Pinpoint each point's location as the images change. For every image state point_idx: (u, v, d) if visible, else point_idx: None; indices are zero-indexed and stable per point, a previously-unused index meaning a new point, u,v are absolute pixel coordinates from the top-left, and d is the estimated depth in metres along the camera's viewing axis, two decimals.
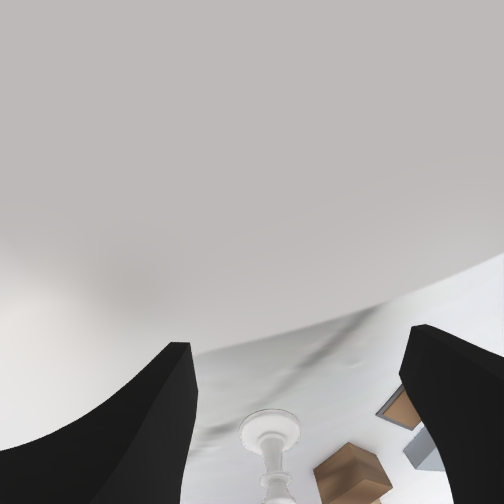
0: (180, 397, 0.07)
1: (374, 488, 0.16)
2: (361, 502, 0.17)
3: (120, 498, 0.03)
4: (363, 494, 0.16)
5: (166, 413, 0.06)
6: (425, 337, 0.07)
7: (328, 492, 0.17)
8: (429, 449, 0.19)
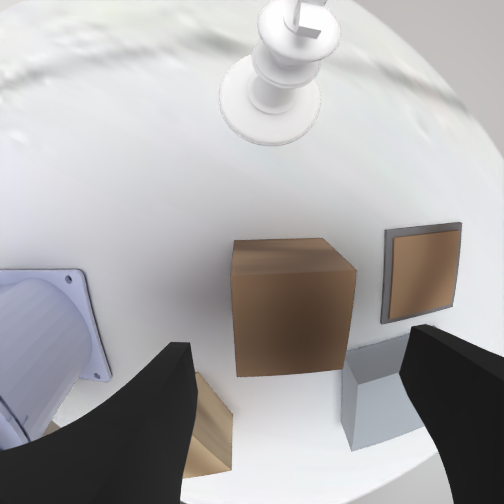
0: (180, 397, 0.07)
1: (333, 328, 0.11)
2: (279, 352, 0.11)
3: (120, 498, 0.03)
4: (307, 325, 0.11)
5: (166, 413, 0.06)
6: (425, 337, 0.07)
7: (255, 263, 0.11)
8: (392, 367, 0.14)
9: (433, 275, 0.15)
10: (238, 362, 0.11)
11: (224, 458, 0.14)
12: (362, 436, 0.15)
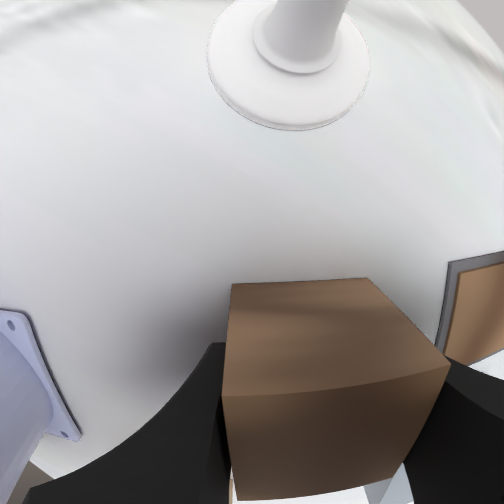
0: None
1: (394, 444, 0.05)
2: (305, 478, 0.05)
3: None
4: (356, 448, 0.05)
5: (223, 416, 0.06)
6: None
7: (269, 354, 0.06)
8: None
9: (494, 317, 0.10)
10: (239, 489, 0.06)
11: None
12: (388, 503, 0.10)
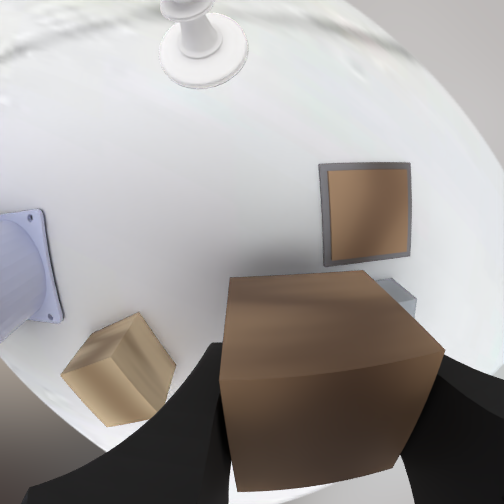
0: None
1: (392, 432, 0.05)
2: (304, 468, 0.06)
3: None
4: (354, 436, 0.05)
5: (222, 416, 0.06)
6: None
7: (266, 341, 0.06)
8: None
9: (380, 215, 0.16)
10: (239, 479, 0.06)
11: (154, 401, 0.14)
12: None
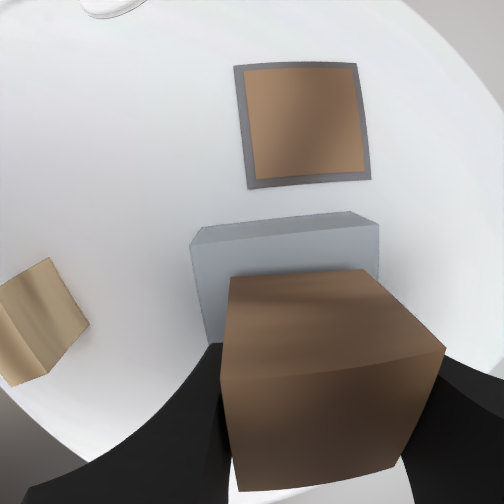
0: None
1: (393, 430, 0.05)
2: (305, 467, 0.06)
3: None
4: (355, 435, 0.05)
5: (222, 416, 0.06)
6: None
7: (266, 339, 0.06)
8: (255, 234, 0.11)
9: (319, 121, 0.12)
10: (240, 479, 0.06)
11: (41, 353, 0.10)
12: None
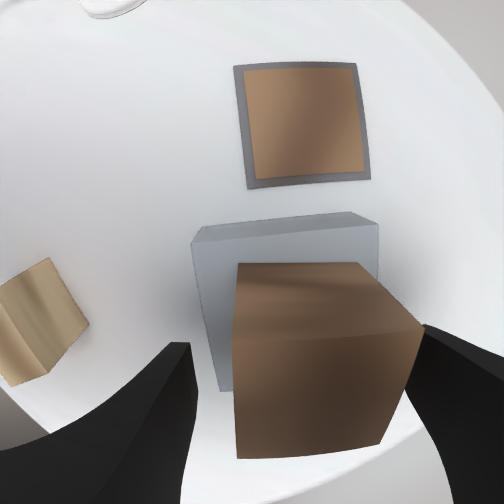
0: (180, 397, 0.07)
1: (378, 404, 0.07)
2: (299, 435, 0.07)
3: (120, 498, 0.03)
4: (344, 404, 0.06)
5: (166, 413, 0.06)
6: (425, 337, 0.07)
7: (270, 312, 0.07)
8: (255, 233, 0.11)
9: (319, 122, 0.12)
10: (240, 444, 0.07)
11: (41, 353, 0.10)
12: (229, 364, 0.12)
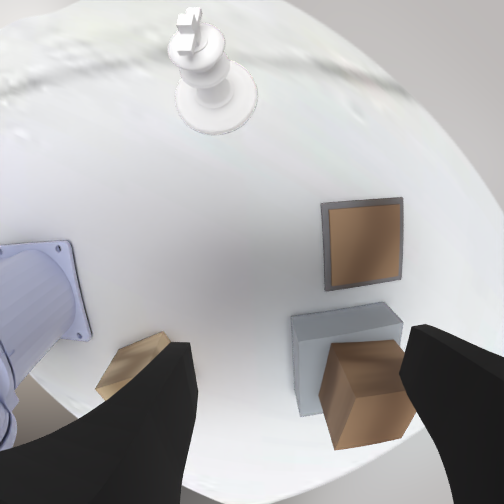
0: (180, 397, 0.07)
1: (404, 417, 0.13)
2: (368, 434, 0.13)
3: (120, 498, 0.03)
4: (390, 418, 0.13)
5: (166, 413, 0.06)
6: (425, 337, 0.07)
7: (364, 380, 0.13)
8: (334, 331, 0.17)
9: (374, 246, 0.18)
10: (339, 442, 0.13)
11: None
12: (309, 401, 0.18)
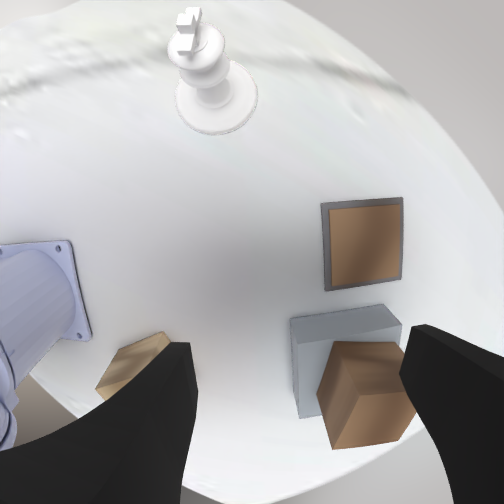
0: (180, 397, 0.07)
1: (403, 419, 0.13)
2: (366, 434, 0.13)
3: (120, 498, 0.03)
4: (390, 419, 0.13)
5: (166, 413, 0.06)
6: (425, 337, 0.07)
7: (367, 379, 0.13)
8: (333, 333, 0.17)
9: (374, 246, 0.18)
10: (338, 441, 0.13)
11: None
12: (308, 403, 0.18)
